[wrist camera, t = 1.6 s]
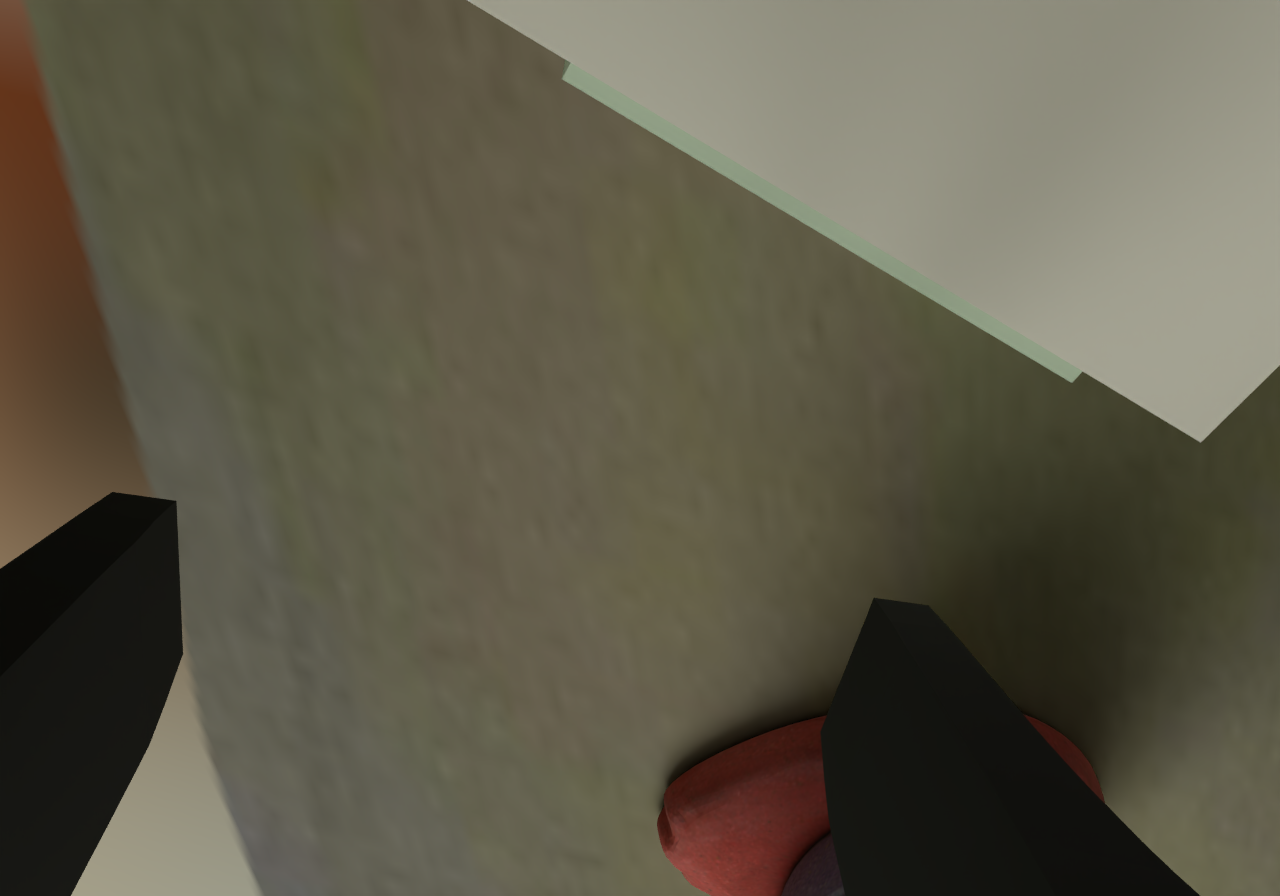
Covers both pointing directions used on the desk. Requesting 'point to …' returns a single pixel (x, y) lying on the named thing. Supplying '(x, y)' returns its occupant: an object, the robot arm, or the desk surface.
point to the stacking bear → (773, 815)
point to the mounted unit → (993, 159)
